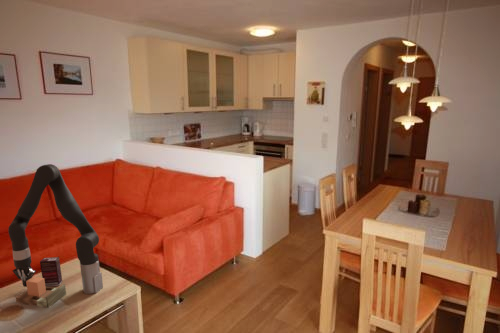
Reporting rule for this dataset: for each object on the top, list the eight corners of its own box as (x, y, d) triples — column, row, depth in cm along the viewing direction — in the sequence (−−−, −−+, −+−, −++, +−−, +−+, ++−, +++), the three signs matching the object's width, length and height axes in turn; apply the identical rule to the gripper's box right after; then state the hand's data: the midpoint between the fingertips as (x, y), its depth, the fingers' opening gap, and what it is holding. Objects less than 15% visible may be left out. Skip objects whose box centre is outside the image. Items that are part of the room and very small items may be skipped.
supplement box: (62, 281, 190) (59, 256, 187) (59, 285, 185) (55, 260, 182) (46, 282, 189) (43, 257, 185) (43, 287, 184) (39, 261, 181)
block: (46, 291, 174) (44, 278, 173) (39, 296, 170) (37, 282, 168) (35, 290, 176) (33, 276, 174) (28, 294, 172) (26, 281, 170)
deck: (66, 294, 177) (65, 284, 176) (48, 307, 166) (47, 297, 164) (35, 289, 181) (34, 280, 180) (16, 302, 170) (14, 292, 168)
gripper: (38, 254, 173) (42, 283, 176) (18, 251, 175) (22, 280, 179) (26, 261, 165) (30, 291, 169) (5, 258, 168) (9, 288, 172)
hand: (26, 285), depth 174 cm, fingers closed
